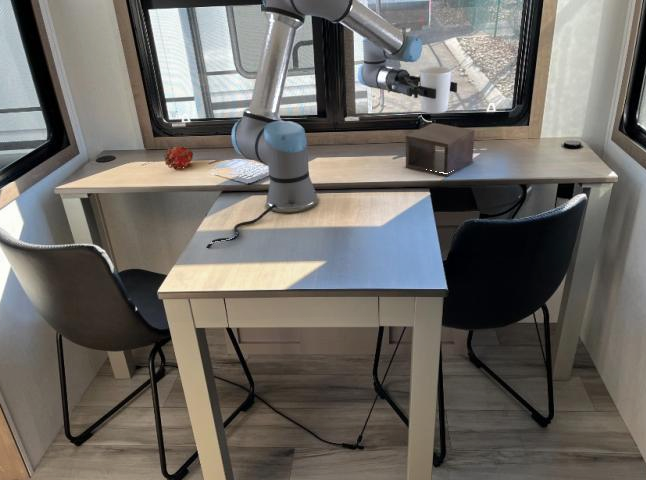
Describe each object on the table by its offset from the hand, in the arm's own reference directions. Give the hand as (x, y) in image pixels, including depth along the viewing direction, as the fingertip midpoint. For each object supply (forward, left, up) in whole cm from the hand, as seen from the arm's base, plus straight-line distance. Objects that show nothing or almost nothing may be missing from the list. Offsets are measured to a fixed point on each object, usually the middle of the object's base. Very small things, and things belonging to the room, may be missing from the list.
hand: (445, 90), depth 181 cm
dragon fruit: (-47, +79, -25) cm, 96 cm away
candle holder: (+1, +4, -7) cm, 8 cm away
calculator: (-39, +55, -25) cm, 72 cm away
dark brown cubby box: (+3, +3, -25) cm, 25 cm away
